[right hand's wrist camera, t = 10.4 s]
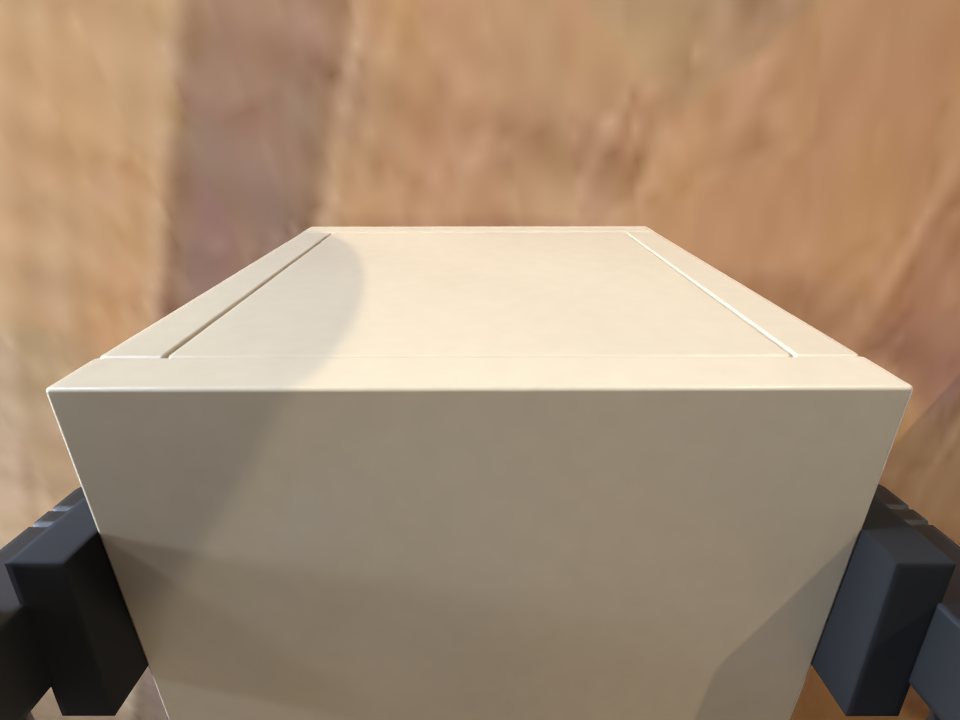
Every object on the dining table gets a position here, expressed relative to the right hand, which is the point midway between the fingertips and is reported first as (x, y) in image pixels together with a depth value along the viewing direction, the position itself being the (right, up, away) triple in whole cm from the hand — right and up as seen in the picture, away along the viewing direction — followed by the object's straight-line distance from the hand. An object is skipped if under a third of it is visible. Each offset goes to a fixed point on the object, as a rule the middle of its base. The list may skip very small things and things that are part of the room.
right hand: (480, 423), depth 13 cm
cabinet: (0, -4, +8) cm, 9 cm away
